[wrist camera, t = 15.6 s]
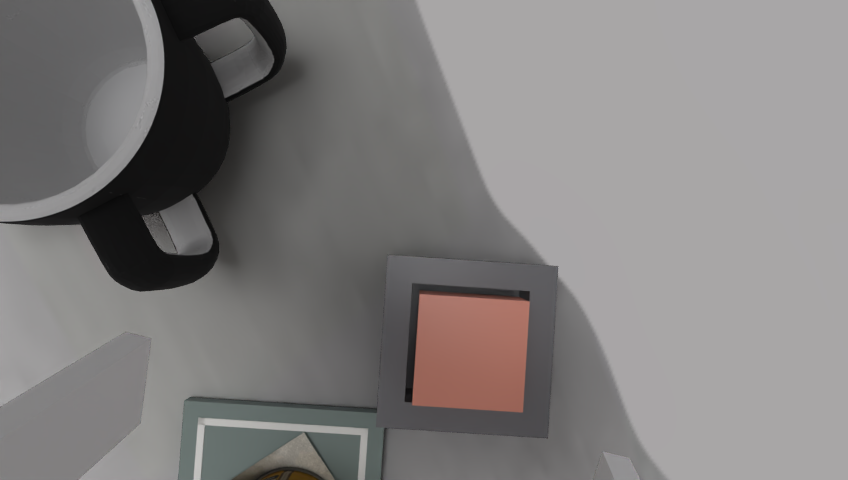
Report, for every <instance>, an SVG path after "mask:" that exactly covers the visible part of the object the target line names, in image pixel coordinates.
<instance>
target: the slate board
mask: <svg viewBox="0 0 848 480" xmlns="http://www.w3.org/2000/svg"><path fill="white" fill-rule="evenodd" d="M376 416H377V409H366V408H350V407H335V406H319V405H304V404H288V403H273V402H258V401H242V400H227V399H211V398H196V397H189V398H188V399H186V400H185V401H184V411H183V423H182V436H181V449H180V461H179V474H178V480H232V479H233V478H235V477H236V476H238V475H239V474H241V473H242V472H244V471H245V470H247V469H248V468H250V467H251V466H253V465H254V464H256V463H257V462H259V461H260V460H262V459H263V458H265V457H266V456H268V455H270V454H272V453H273V452H274V451H276V450H277V449H279V448H280V447H282V446H284V445H285V444H287V443H288V442H290V441H291V440H293V439H294V438H296V437H298V436H299V435H301V434H302V433H305V435H306V437H307V438H308V440H309V441H310V443H311V445H312V446H313V448H314V449H315V451H316V452H317V454H318V456H319V457H320V458H321V459H322V461H323V462H324V464H325V465H326V467H327V468H328V470H329V472H330V473H331V475H332V476H333V478H334V479H335V480H381V471H382V457H383V442H384V428H379V427H376Z"/></svg>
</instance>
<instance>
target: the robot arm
mask: <svg viewBox="0 0 848 480" xmlns="http://www.w3.org/2000/svg"><path fill="white" fill-rule="evenodd" d="M150 344H151V338H148V337H144V336H140V335H136V334H132V333H128V332H125V333H123V334H121V335H120V336H118V337H116V338H115V339H113V340H111V341H110V342H108V343H106V344H105V345H103V346H101V347H100V348H98V349H96V350H95V351H93V352H91V353H90V354H88V355H86V356H85V357H83V358H81V359H80V360H78V361H76V362H75V363H73V364H71V365H70V366H68V367H66V368H65V369H63V370H61V371H60V372H58V373H56V374H55V375H53V376H51V377H50V378H48V379H46V380H45V381H43V382H41V383H40V384H38V385H36V386H35V387H33V388H31V389H30V390H28V391H26V392H25V393H23V394H21V395H20V396H18V397H16V398H15V399H13V400H11V401H9V402H8V403H6V404H4V405H3V406H1V407H0V480H78V479H79V478H81V477H82V476H83V475H84V474H85V473H86V472H87V471H88V470H89V469H90V468H92V467H93V466H94V465H95V464H96V463H97V462H98V461H99V460H100V459H102V458H103V457H104V456H105V455H106V454H107V453H108V452H109V451H110V450H111V449H113V448H114V447H115V446H116V445H117V444H118V443H119V442H120V441H121V440H122V439H124V438H125V437H126V436H127V435H128V434H129V433H130V432H131V431H132V430H134V429H135V428H136V427H137V426H138V425H139V424H140V423H141V415H142V407H143V399H144V391H145V383H146V376H147V368H148V360H149V352H150ZM593 480H640V478H639V476H638V474H637V472H636V470H635V468H634V466H633V464H632V462H631V460H630V458H628V457H624V456H620V455H616V454H612V453H608V452H604V451H602V454H601V457H600V460H599V463H598V466H597V469H596V472H595V475H594V478H593Z"/></svg>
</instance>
